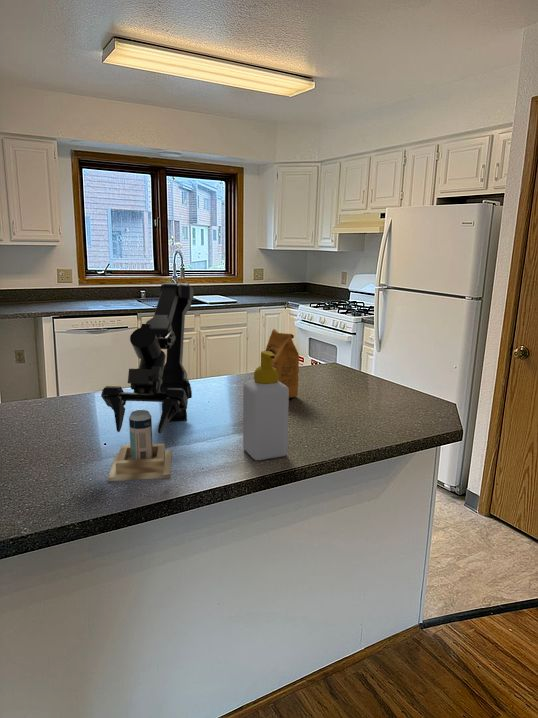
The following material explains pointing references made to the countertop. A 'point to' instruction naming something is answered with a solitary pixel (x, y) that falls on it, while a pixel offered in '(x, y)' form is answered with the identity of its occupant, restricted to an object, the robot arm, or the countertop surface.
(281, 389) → the soap bottle
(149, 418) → the beer can
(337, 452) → the countertop surface
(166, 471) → the socket board
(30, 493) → the countertop surface
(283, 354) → the coffee package
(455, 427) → the countertop surface
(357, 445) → the countertop surface
